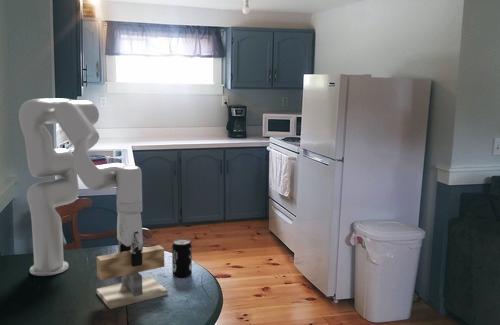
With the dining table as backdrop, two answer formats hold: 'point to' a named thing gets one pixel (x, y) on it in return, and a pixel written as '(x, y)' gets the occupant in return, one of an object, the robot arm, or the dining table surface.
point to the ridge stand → (131, 291)
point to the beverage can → (182, 258)
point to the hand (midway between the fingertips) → (131, 260)
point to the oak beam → (129, 262)
